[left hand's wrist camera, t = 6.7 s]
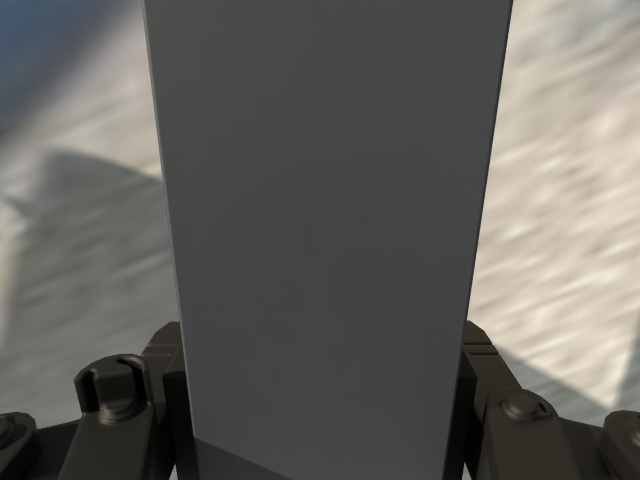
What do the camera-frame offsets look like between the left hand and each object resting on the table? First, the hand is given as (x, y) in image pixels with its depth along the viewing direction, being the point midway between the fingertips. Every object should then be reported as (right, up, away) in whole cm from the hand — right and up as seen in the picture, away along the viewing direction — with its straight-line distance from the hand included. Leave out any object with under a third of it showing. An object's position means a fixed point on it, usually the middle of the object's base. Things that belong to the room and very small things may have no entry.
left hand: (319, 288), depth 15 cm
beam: (0, +31, -10) cm, 32 cm away
